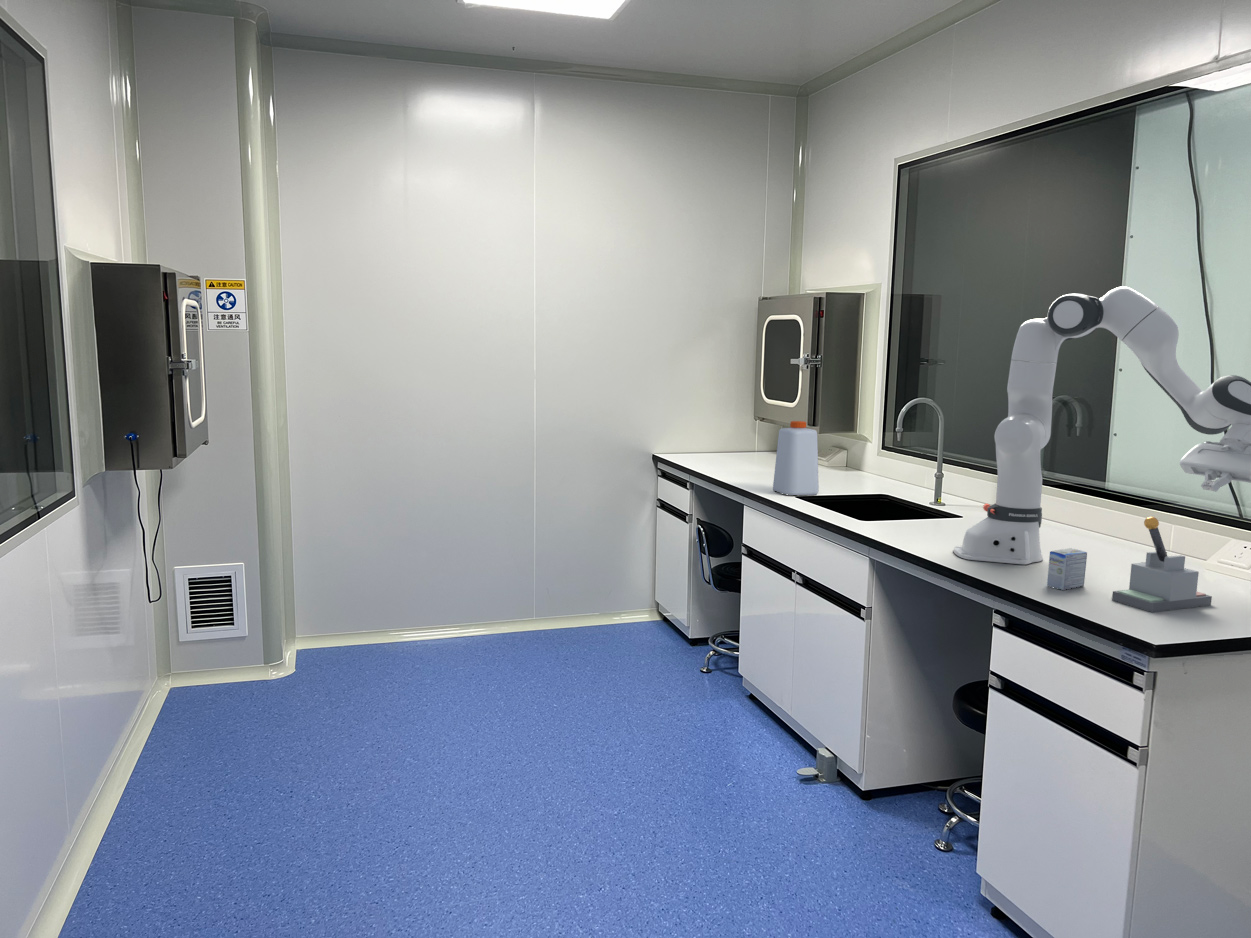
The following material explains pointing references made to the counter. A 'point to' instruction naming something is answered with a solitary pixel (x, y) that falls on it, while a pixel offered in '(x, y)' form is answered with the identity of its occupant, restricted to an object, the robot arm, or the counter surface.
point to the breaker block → (1162, 585)
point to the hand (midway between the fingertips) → (1208, 488)
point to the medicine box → (1067, 568)
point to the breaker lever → (1156, 537)
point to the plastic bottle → (797, 461)
